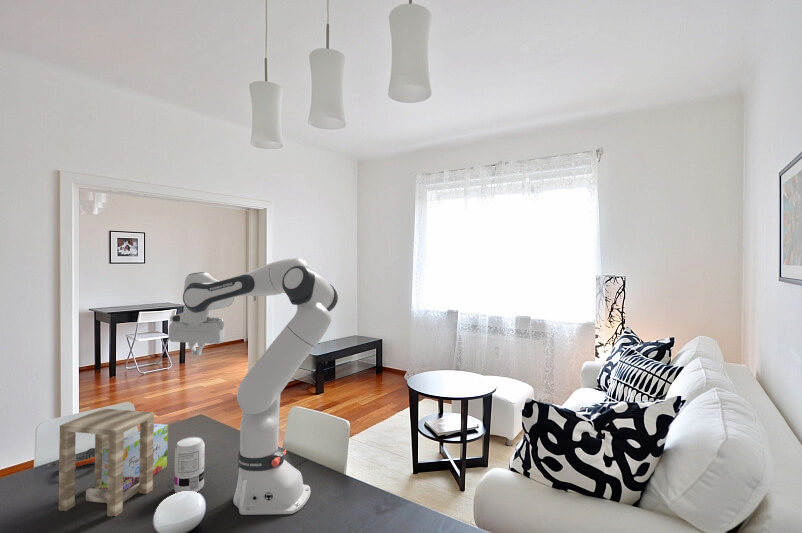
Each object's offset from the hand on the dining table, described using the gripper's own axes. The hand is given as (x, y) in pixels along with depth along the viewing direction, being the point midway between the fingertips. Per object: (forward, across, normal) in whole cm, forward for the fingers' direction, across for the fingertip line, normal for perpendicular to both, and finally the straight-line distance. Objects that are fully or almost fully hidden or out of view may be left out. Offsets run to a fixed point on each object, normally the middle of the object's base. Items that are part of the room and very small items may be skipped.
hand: (196, 354), depth 149 cm
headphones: (+38, +34, +12) cm, 52 cm away
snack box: (+38, +7, +19) cm, 43 cm away
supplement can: (+37, -12, +20) cm, 44 cm away
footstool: (+37, +8, +29) cm, 48 cm away
